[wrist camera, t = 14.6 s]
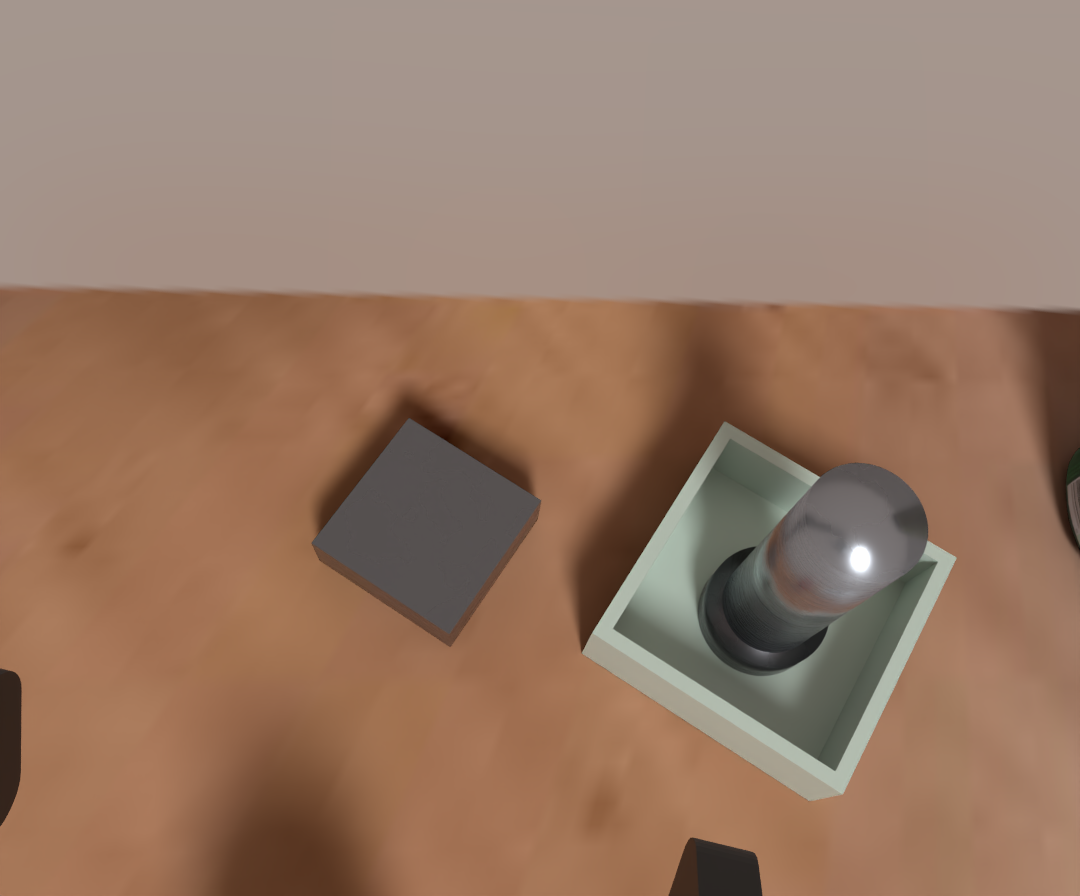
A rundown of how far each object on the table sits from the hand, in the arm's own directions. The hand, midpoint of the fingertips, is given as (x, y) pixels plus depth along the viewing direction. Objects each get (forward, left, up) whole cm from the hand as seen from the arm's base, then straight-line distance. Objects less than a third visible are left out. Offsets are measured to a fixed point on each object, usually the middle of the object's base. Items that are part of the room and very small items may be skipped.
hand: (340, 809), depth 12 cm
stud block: (-8, +11, -31) cm, 33 cm away
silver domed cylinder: (+6, +16, -30) cm, 34 cm away
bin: (+6, +16, -31) cm, 35 cm away
